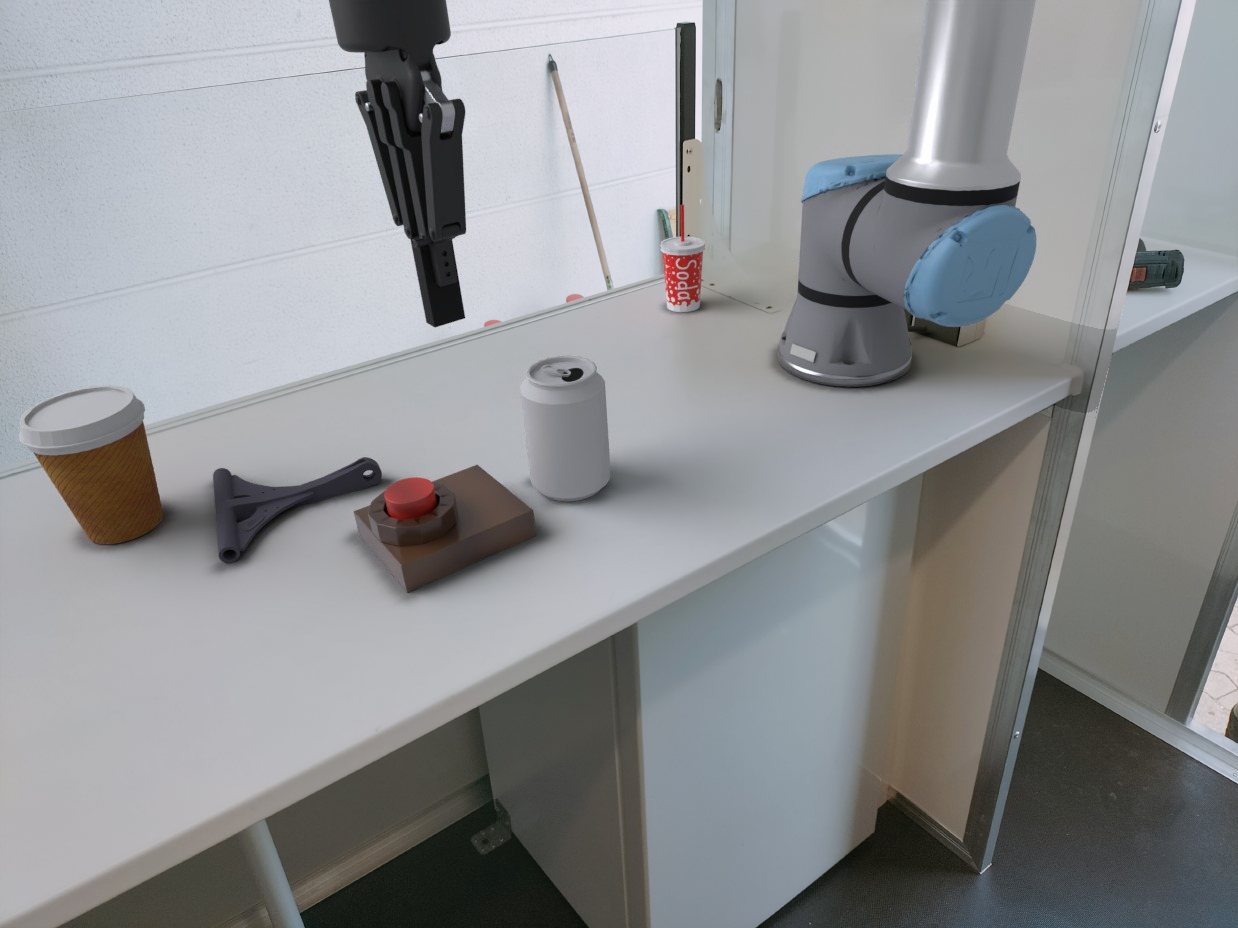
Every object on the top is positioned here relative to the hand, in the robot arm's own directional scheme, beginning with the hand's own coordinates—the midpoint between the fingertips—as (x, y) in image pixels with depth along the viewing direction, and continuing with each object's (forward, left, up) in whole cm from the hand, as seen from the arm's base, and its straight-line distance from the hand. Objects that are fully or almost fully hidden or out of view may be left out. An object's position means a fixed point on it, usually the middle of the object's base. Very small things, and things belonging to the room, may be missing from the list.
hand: (445, 320), depth 68 cm
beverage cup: (-47, -27, -18) cm, 57 cm away
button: (+6, +2, -14) cm, 16 cm away
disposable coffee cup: (+26, -19, -18) cm, 37 cm away
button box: (+4, +2, -18) cm, 19 cm away
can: (-9, +2, -18) cm, 21 cm away
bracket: (+12, -12, -18) cm, 25 cm away
